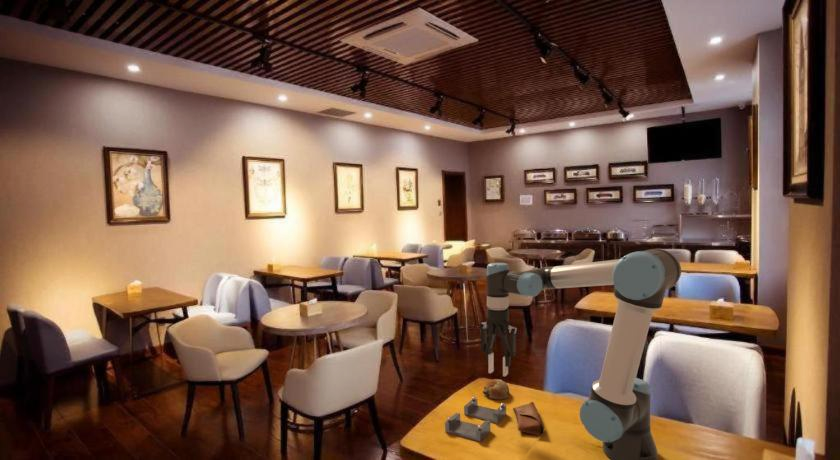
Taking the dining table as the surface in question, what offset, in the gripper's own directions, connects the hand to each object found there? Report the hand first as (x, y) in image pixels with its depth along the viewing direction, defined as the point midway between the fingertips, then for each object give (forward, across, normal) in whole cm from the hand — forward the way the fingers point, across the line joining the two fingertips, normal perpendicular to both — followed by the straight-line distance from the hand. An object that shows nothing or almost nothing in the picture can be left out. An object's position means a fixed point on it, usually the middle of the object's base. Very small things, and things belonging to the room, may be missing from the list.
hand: (498, 373), depth 154 cm
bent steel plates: (+18, +6, +4) cm, 19 cm away
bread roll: (+19, +11, -18) cm, 29 cm away
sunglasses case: (+18, -7, -4) cm, 20 cm away
